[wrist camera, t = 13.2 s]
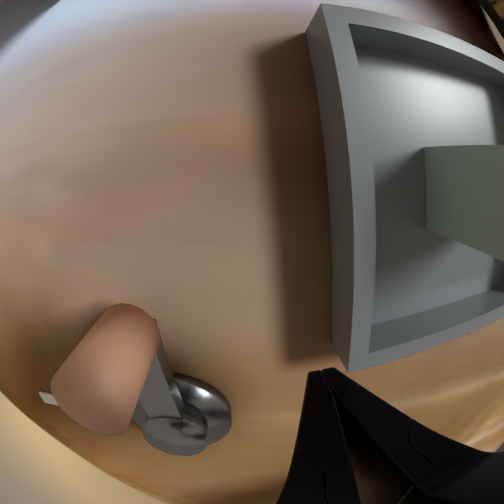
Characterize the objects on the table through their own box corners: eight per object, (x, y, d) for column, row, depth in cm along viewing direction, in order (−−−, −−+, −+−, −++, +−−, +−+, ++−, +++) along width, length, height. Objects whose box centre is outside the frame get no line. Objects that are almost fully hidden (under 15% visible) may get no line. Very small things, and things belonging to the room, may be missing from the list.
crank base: (238, 436, 17) (238, 444, 16) (60, 423, 17) (57, 429, 16) (221, 369, 15) (221, 378, 15) (23, 363, 15) (19, 369, 14)
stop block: (475, 223, 13) (558, 254, 6) (426, 230, 13) (522, 270, 6) (474, 152, 12) (563, 158, 5) (423, 147, 12) (527, 146, 5)
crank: (213, 438, 16) (210, 516, 10) (159, 437, 16) (143, 510, 10) (168, 287, 13) (122, 376, 6) (97, 294, 12) (28, 367, 6)
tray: (501, 291, 16) (524, 305, 13) (331, 341, 15) (347, 372, 12) (498, 79, 11) (524, 74, 8) (305, 31, 11) (320, 3, 8)
